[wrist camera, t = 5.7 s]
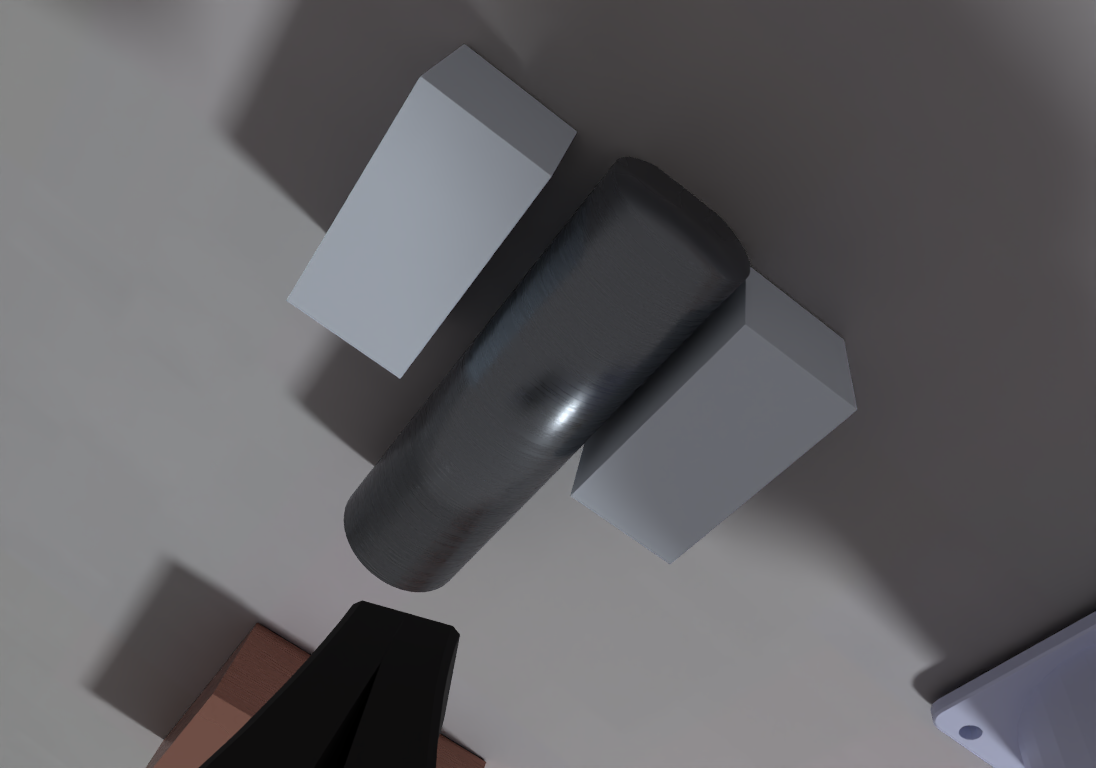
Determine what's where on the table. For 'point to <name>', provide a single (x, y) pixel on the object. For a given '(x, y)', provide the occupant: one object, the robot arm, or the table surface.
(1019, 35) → the table surface
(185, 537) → the table surface
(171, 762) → the v block
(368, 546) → the axle
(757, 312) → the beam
